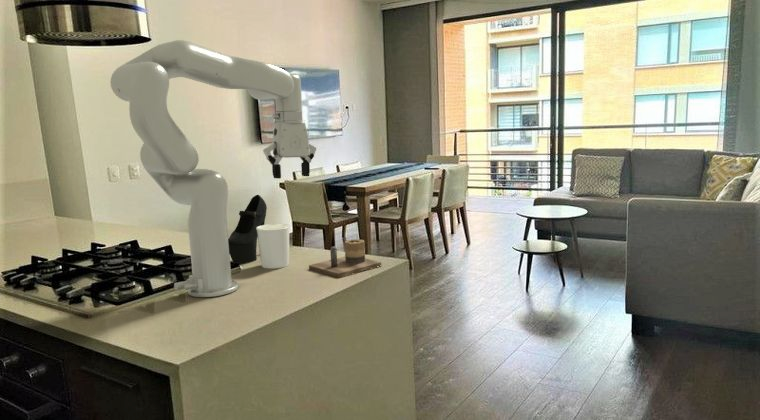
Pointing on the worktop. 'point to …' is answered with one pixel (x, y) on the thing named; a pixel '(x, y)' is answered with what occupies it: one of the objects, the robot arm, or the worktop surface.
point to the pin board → (342, 265)
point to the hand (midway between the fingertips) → (291, 177)
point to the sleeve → (354, 251)
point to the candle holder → (273, 245)
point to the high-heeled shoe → (247, 231)
